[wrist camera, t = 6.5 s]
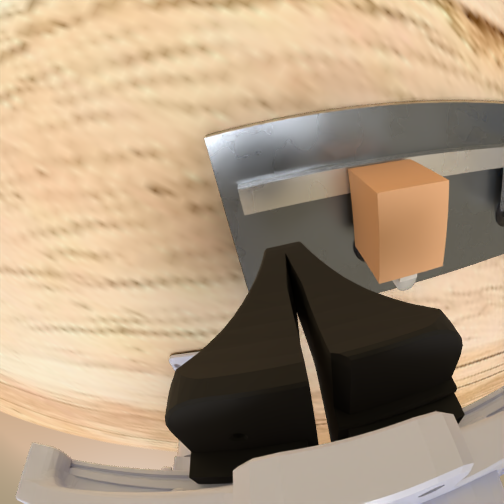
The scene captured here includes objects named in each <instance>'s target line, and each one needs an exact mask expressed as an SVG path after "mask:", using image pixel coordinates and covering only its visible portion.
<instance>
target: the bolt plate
mask: <svg viewBox="0 0 504 504" xmlns="http://www.w3.org/2000/svg"><path fill="white" fill-rule="evenodd" d="M204 139H205V143H206V146H207V150H208V153H209V157H210V161H211V164H212V168H213V171H214V175H215V178H216V182H217V185H218V189H219V192H220V196H221V199H222V202H223V206H224V209H225V213H226V216H227V220H228V223H229V227H230V230H231V233H232V237H233V240H234V244H235V247H236V250H237V254H238V257H239V261H240V264H241V267H242V271H243V274H244V277H245V281H246V284H247V287H248V291H250V289H251V287H252V285H253V283H254V281H255V278H256V276H257V273H258V271H259V268H260V266H261V263H262V259H263V255H264V251H265V250H266V249H267V248H271V247H276V246H280V245H285V244H289V243H294V242H298V241H299V242H301V243H302V244H303V245H304V246H305V247H306V248H307V249H308V250H310V251H311V252H312V253H313V254H314V255H315V256H316V257H318V258H319V259H320V260H321V261H322V262H324V263H325V264H326V265H328V266H329V267H330V268H332V269H333V270H334V271H336V272H337V273H339V274H340V275H342V276H343V277H345V278H347V279H348V280H350V281H352V282H354V283H356V284H358V285H360V286H362V287H364V288H366V289H369V290H371V291H373V292H376V293H380V292H384V291H387V290H391V289H394V288H397V287H396V286H395V284H394V283H393V281H388V282H385V283H381V284H379V283H378V281H377V280H376V278H375V276H374V275H373V273H372V271H371V270H370V268H369V267H368V265H367V264H366V262H365V260H364V259H363V257H362V256H361V254H360V253H359V251H358V250H357V248H356V247H355V236H354V223H353V212H352V201H351V191H350V182H349V174H348V169H351V168H356V167H362V166H368V165H374V164H380V163H387V162H393V161H400V160H406V159H411V160H413V161H415V162H417V163H419V164H421V165H423V166H425V167H426V168H428V169H430V170H432V171H434V172H436V173H437V174H439V175H441V176H443V177H444V178H446V179H448V180H449V203H448V220H447V232H446V243H445V252H444V260H443V266H441V267H438V268H434V269H431V270H428V271H424V272H421V273H417V278H416V281H415V282H419V281H422V280H426V279H429V278H432V277H435V276H439V275H442V274H445V273H448V272H451V271H454V270H458V269H461V268H464V267H467V266H470V265H473V264H476V263H479V262H481V261H484V260H487V259H490V258H493V257H496V256H499V255H501V254H504V102H497V101H474V100H434V101H409V102H394V103H381V104H371V105H361V106H352V107H344V108H337V109H329V110H323V111H316V112H310V113H304V114H298V115H293V116H287V117H282V118H277V119H272V120H267V121H262V122H258V123H253V124H249V125H244V126H240V127H236V128H232V129H228V130H224V131H220V132H216V133H212V134H208V135H206V137H205V138H204Z"/></svg>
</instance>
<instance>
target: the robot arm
mask: <svg viewBox="0 0 504 504" xmlns="http://www.w3.org/2000/svg"><path fill="white" fill-rule="evenodd" d="M297 314H298V317H299V319H300V322H301V325H302V328H303V331H304V334H305V336H306V339H307V342H308V345H309V348H310V351H311V354H312V357H313V360H314V363H315V367H316V371H317V376H318V380H319V385H320V390H321V394H322V399H323V404H324V409H325V413H326V418H327V423H328V429H329V434H330V439H331V442H330V443H326V444H321V445H318V438H317V430H316V424H315V417H314V411H313V405H312V399H311V393H310V387H309V381H308V376H307V372H306V367H305V362H304V358H303V354H302V350H301V345H300V338H299V328H298V319H297ZM462 346H463V344H462V338H461V336H460V335H459V333H458V332H457V330H456V329H455V327H454V326H453V324H452V323H451V322H450V320H449V319H448V318H447V317H446V316H445V314H444V313H443V312H442V311H441V310H440V309H436V308H430V307H425V306H420V305H414V304H410V303H406V302H403V301H399V300H396V299H392V298H389V297H386V296H384V295H381V294H378V293H376V292H373V291H371V290H369V289H366V288H364V287H362V286H360V285H358V284H356V283H354V282H352V281H350V280H348V279H347V278H345V277H343V276H342V275H340V274H339V273H337V272H336V271H334V270H333V269H332V268H330V267H329V266H328V265H326V264H325V263H324V262H322V261H321V260H320V259H319V258H318V257H316V256H315V255H314V254H313V253H312V252H311V251H310V250H308V249H307V248H306V247H305V246H304V245H303V244H302V243H301V242H299V241H298V242H294V243H289V244H285V245H280V246H276V247H271V248H267V249H266V250H265V251H264V255H263V259H262V263H261V266H260V268H259V271H258V273H257V276H256V278H255V281H254V283H253V285H252V287H251V289H250V291H249V293H248V295H247V296H246V298H245V300H244V302H243V303H242V305H241V306H240V308H239V309H238V311H237V312H236V314H235V315H234V316H233V318H232V319H231V320H230V321H229V323H228V324H227V325H226V326H225V328H224V329H223V330H222V331H221V332H220V333H219V334H218V335H217V336H216V337H215V338H214V339H213V340H212V341H211V342H210V343H209V344H208V345H207V346H206V347H204V348H203V349H202V350H201V351H199V352H192V353H185V354H177V355H171V356H170V358H169V363H170V364H171V366H172V367H173V369H174V370H175V374H174V378H173V380H172V383H171V387H170V391H169V396H168V402H167V408H166V414H165V421H166V425H167V427H168V428H169V430H170V431H171V432H172V433H173V434H174V435H175V436H176V437H177V438H178V439H179V443H178V452H177V456H175V458H174V468H173V470H172V468H171V467H163V468H162V469H161V470H151V469H138V468H126V467H117V466H110V465H102V464H96V463H89V462H84V461H78V460H73V459H71V458H70V457H69V456H68V455H67V454H65V453H64V452H62V451H61V450H59V449H57V448H55V447H52V446H48V445H43V444H39V443H35V442H34V443H32V444H31V447H30V450H29V453H28V456H27V459H26V463H25V466H24V469H23V472H22V476H21V479H20V482H19V486H18V490H17V494H16V499H17V500H19V501H20V502H22V503H24V504H504V488H503V485H502V482H501V480H500V476H501V475H503V474H504V386H503V387H501V388H499V389H498V390H496V391H494V392H492V393H491V394H489V395H487V396H485V397H483V398H481V399H480V400H478V401H476V402H474V403H472V404H470V405H468V406H466V407H464V408H461V405H460V403H459V401H458V399H457V398H456V396H455V394H454V392H456V390H457V387H456V384H455V383H454V381H453V379H452V375H453V372H454V370H455V368H456V365H457V363H458V360H459V357H460V355H461V350H462Z"/></svg>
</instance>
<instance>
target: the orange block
mask: <svg viewBox="0 0 504 504" xmlns="http://www.w3.org/2000/svg"><path fill="white" fill-rule="evenodd" d="M348 174H349V182H350V191H351V201H352V212H353V223H354V236H355V247H356V248H357V250H358V251H359V253H360V254H361V256H362V257H363V259H364V260H365V262H366V264H367V265H368V267H369V268H370V270H371V271H372V273H373V275H374V276H375V278H376V280H377V281H378V283H379V284H381V283H385V282H388V281H393V283H394V284H395V286H396V287H397V288H398V289H399V290H401V291H404V290H408V289H409V288H411V287H412V286H413V285H414V283H415V281H416V278H417V273H421V272H424V271H428V270H431V269H434V268H438V267H441V266H443V260H444V252H445V243H446V232H447V220H448V203H449V180H448V179H446V178H444V177H443V176H441V175H439V174H437V173H436V172H434V171H432V170H430V169H428V168H426V167H425V166H423V165H421V164H419V163H417V162H415V161H413V160H411V159H406V160H400V161H393V162H387V163H380V164H374V165H368V166H362V167H356V168H351V169H348Z"/></svg>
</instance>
